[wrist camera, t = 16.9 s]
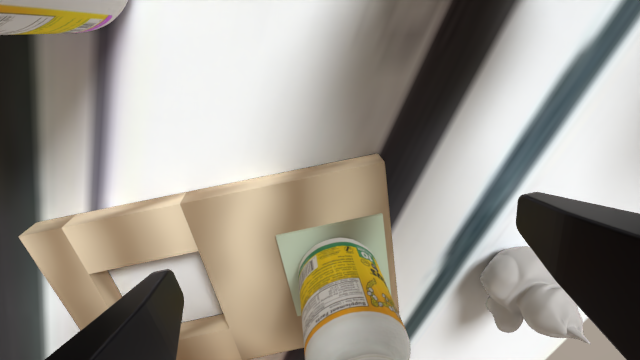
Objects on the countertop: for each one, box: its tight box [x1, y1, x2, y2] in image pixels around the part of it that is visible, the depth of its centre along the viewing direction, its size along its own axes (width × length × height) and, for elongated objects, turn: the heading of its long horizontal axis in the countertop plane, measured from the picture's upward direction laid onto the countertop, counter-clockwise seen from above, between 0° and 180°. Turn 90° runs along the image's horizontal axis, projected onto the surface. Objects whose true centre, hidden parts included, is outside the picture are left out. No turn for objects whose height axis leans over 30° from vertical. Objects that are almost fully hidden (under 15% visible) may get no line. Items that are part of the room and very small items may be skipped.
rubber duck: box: [480, 246, 591, 344], centre depth 23 cm, size 5×7×8 cm
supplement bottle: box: [298, 237, 410, 360], centre depth 18 cm, size 5×5×10 cm
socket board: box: [19, 153, 399, 360], centre depth 23 cm, size 22×14×2 cm, turn 100°
